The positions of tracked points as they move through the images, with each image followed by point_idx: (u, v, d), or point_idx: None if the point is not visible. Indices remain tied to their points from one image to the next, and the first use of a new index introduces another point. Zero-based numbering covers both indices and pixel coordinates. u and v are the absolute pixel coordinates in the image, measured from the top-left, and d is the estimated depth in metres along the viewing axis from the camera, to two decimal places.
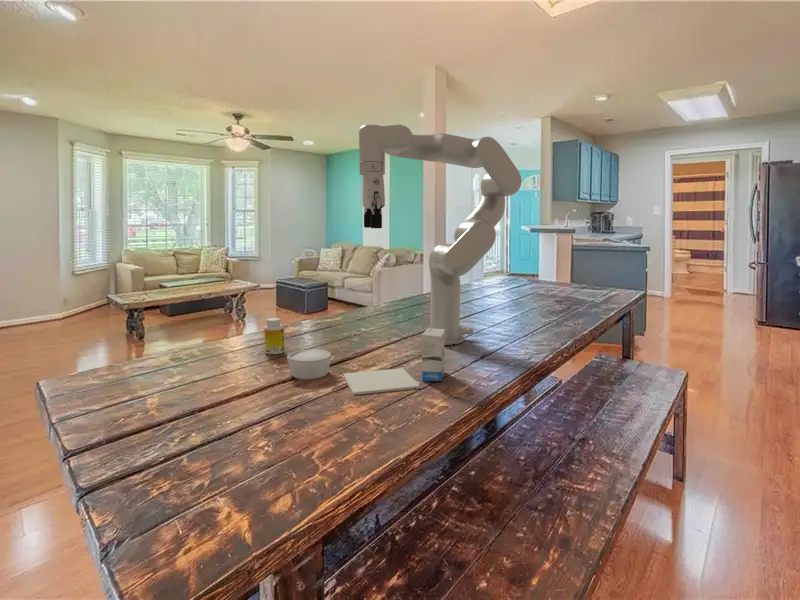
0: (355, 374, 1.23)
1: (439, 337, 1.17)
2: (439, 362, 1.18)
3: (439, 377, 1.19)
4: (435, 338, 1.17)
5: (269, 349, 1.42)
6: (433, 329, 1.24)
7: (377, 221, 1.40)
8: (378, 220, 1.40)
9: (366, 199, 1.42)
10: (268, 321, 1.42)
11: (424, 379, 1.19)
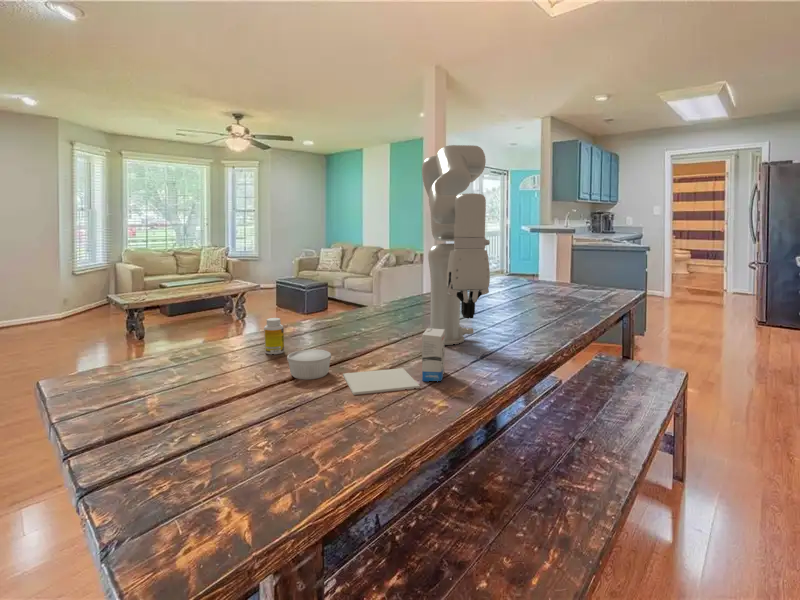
0: (355, 374, 1.23)
1: (439, 337, 1.17)
2: (439, 362, 1.18)
3: (439, 377, 1.19)
4: (435, 338, 1.17)
5: (269, 349, 1.42)
6: (433, 329, 1.24)
7: None
8: None
9: (480, 280, 1.20)
10: (268, 321, 1.42)
11: (424, 379, 1.19)
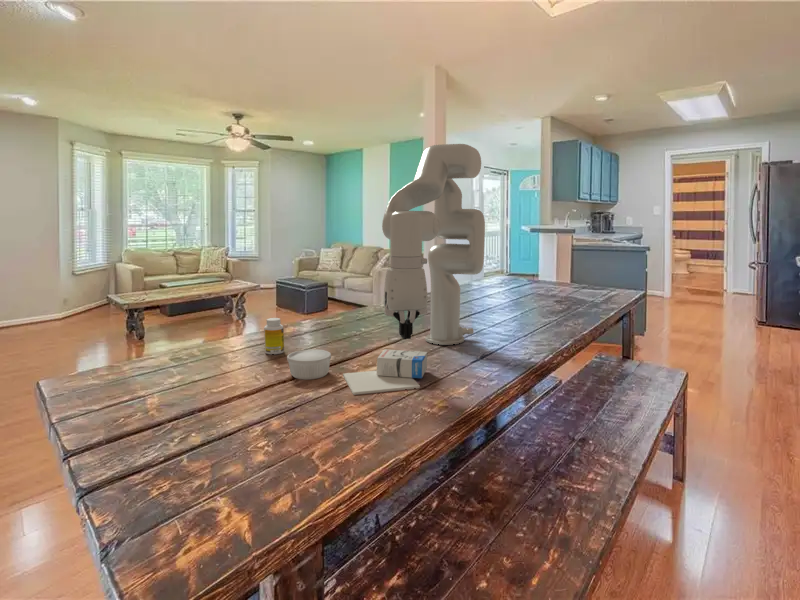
0: (355, 374, 1.23)
1: (377, 359, 1.21)
2: (402, 360, 1.20)
3: (417, 361, 1.19)
4: (378, 363, 1.21)
5: (269, 349, 1.42)
6: None
7: None
8: None
9: (416, 300, 1.16)
10: (268, 321, 1.42)
11: (419, 376, 1.19)
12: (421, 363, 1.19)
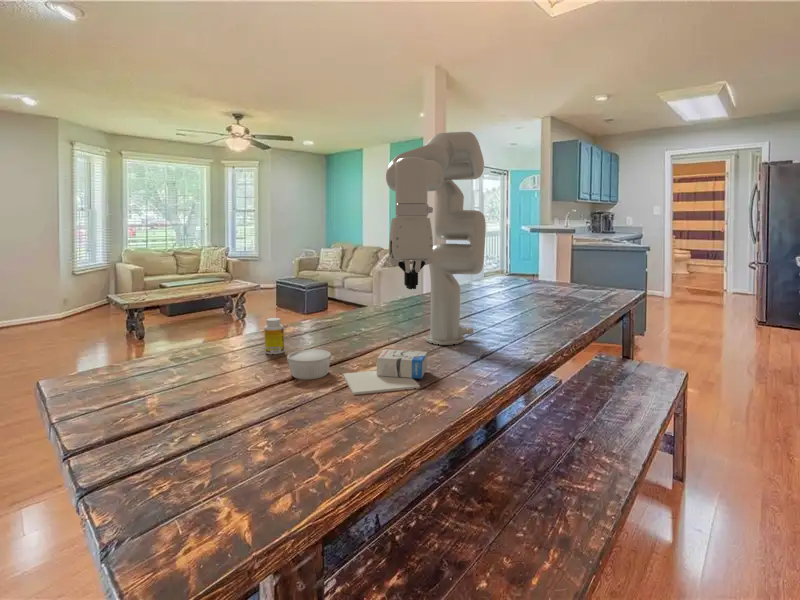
0: (355, 374, 1.23)
1: (377, 359, 1.21)
2: (402, 360, 1.20)
3: (417, 361, 1.19)
4: (378, 363, 1.21)
5: (269, 349, 1.42)
6: None
7: None
8: None
9: (422, 249, 1.15)
10: (268, 321, 1.42)
11: (419, 376, 1.19)
12: (421, 363, 1.19)
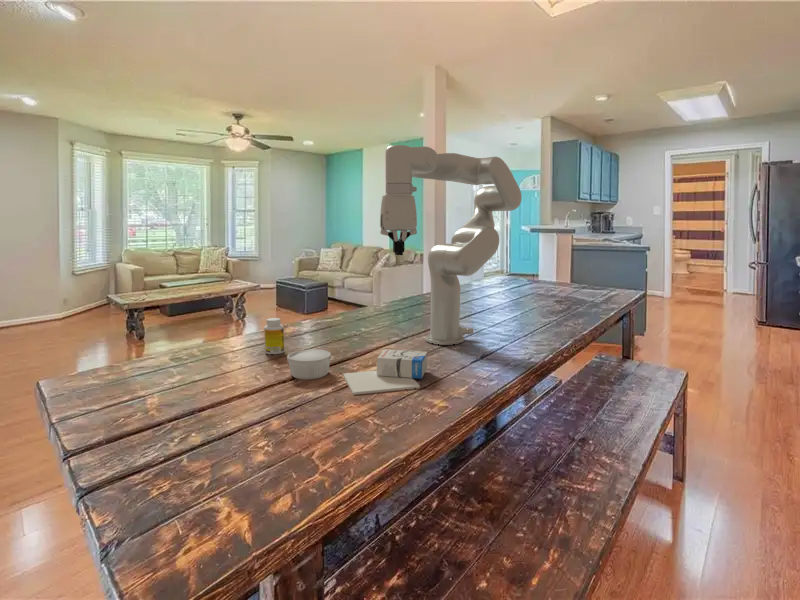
0: (355, 374, 1.23)
1: (377, 359, 1.21)
2: (402, 360, 1.20)
3: (417, 361, 1.19)
4: (378, 363, 1.21)
5: (269, 349, 1.42)
6: None
7: None
8: None
9: (407, 222, 1.38)
10: (268, 321, 1.42)
11: (419, 376, 1.19)
12: (421, 363, 1.19)
